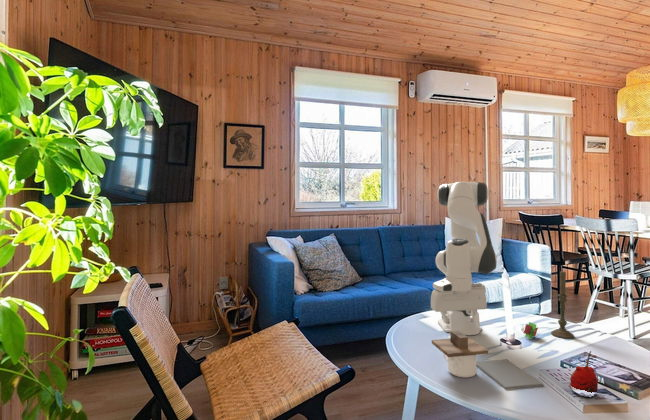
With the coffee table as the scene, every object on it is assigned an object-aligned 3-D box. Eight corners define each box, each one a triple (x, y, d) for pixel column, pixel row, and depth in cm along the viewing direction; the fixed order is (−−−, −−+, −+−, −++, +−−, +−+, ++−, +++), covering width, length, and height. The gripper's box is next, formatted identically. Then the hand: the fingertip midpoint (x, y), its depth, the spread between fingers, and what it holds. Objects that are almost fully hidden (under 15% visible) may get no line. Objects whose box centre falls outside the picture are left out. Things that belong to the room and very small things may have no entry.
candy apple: (589, 388, 126) (590, 344, 126) (603, 400, 119) (604, 352, 119) (565, 388, 127) (566, 343, 126) (578, 399, 120) (578, 352, 119)
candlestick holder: (579, 337, 173) (579, 271, 172) (564, 340, 169) (565, 272, 169) (560, 330, 181) (560, 267, 180) (546, 333, 178) (546, 269, 177)
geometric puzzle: (534, 329, 178) (525, 316, 176) (546, 334, 171) (537, 321, 170) (524, 339, 176) (515, 327, 175) (535, 345, 170) (526, 332, 168)
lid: (431, 343, 144) (431, 329, 144) (468, 340, 146) (468, 326, 146) (448, 357, 131) (448, 342, 131) (488, 353, 134) (488, 339, 133)
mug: (436, 371, 140) (436, 347, 140) (450, 363, 147) (450, 339, 147) (468, 382, 132) (468, 356, 131) (480, 372, 139) (480, 348, 139)
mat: (473, 363, 146) (473, 361, 146) (506, 361, 148) (506, 359, 148) (505, 389, 127) (505, 387, 127) (543, 385, 129) (543, 383, 129)
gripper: (480, 281, 143) (480, 318, 143) (428, 283, 140) (428, 321, 140) (490, 284, 137) (490, 323, 137) (436, 287, 133) (436, 326, 134)
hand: (458, 322), depth 138 cm, fingers open, 8 cm apart
